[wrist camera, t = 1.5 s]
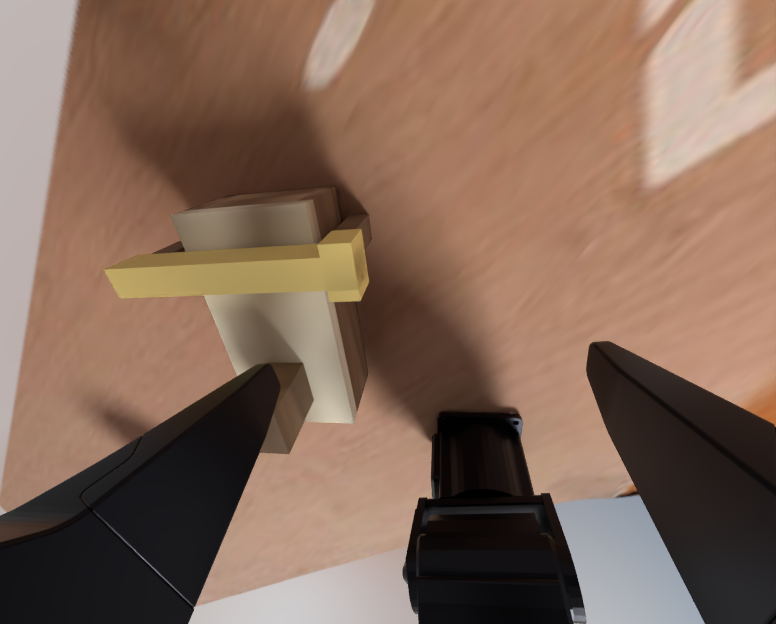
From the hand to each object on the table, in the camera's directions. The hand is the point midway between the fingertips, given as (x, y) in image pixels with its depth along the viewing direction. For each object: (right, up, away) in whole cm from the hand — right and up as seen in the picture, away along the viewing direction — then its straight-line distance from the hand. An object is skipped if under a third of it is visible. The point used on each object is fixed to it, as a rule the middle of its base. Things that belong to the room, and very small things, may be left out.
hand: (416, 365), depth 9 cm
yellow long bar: (-8, +4, +7) cm, 11 cm away
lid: (-7, +1, +10) cm, 13 cm away
